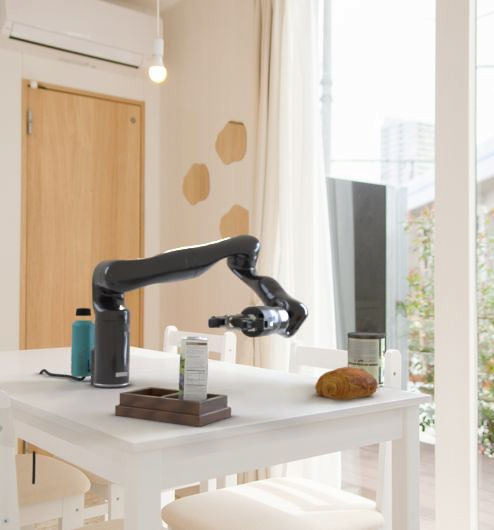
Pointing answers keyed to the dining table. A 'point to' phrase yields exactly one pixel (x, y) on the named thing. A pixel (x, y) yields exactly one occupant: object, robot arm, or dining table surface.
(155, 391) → the shallow walnut tray
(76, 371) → the beverage bottle
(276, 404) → the dining table surface
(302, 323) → the robot arm
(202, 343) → the syrup box
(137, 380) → the dining table surface
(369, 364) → the coffee can
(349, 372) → the croissant
